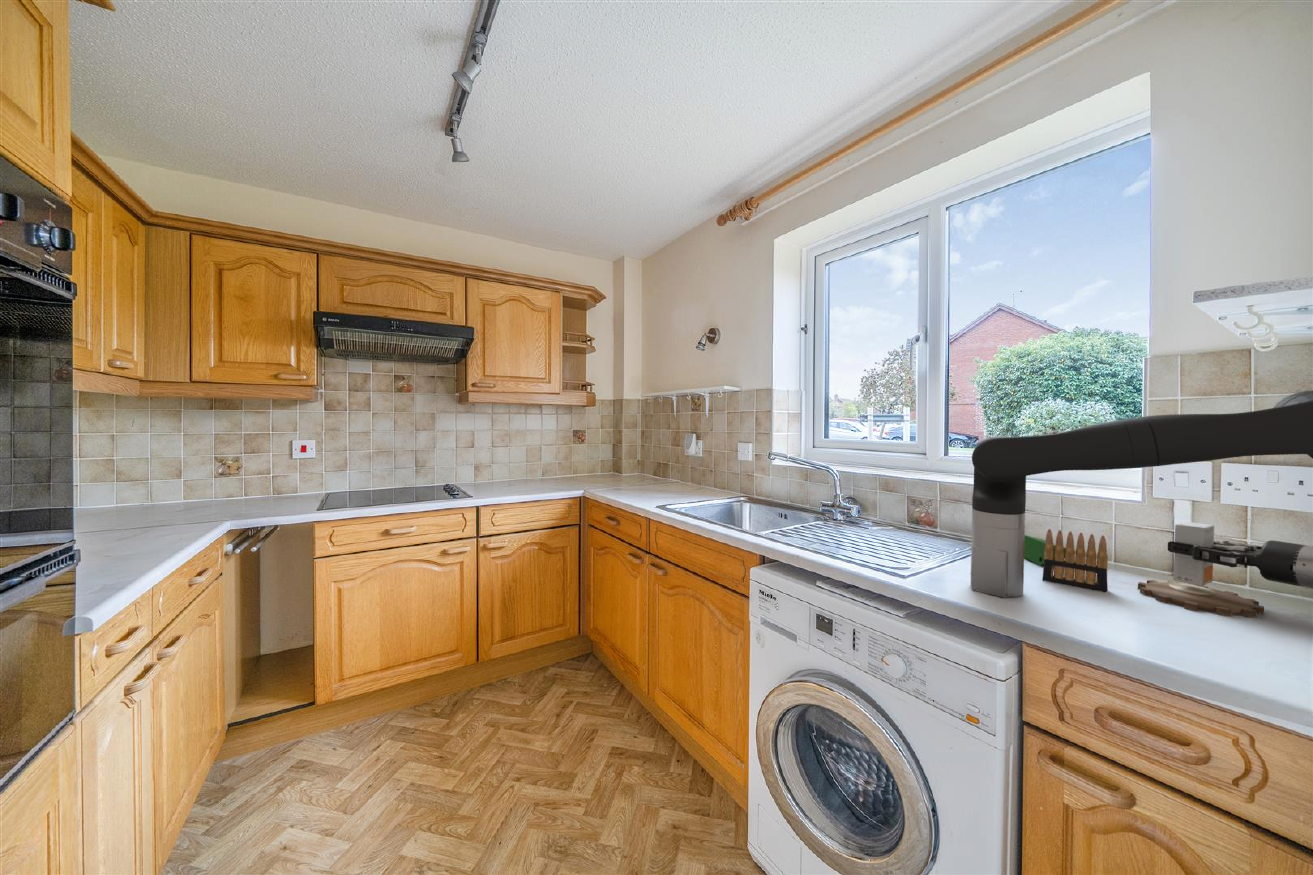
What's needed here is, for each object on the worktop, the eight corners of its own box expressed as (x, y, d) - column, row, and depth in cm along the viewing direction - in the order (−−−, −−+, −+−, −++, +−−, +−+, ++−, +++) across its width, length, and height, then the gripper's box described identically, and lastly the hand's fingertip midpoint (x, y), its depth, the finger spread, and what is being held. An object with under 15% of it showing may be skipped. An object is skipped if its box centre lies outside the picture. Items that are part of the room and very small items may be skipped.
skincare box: (1203, 587, 94) (1204, 527, 93) (1172, 581, 97) (1173, 524, 97) (1214, 582, 96) (1215, 524, 96) (1183, 576, 100) (1184, 521, 100)
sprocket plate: (1260, 624, 83) (1261, 617, 83) (1129, 596, 97) (1130, 589, 97) (1266, 603, 93) (1266, 596, 93) (1146, 580, 106) (1146, 574, 106)
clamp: (1059, 583, 117) (1079, 556, 113) (1033, 576, 118) (1053, 549, 114) (1035, 553, 127) (1054, 527, 123) (1012, 547, 128) (1029, 521, 124)
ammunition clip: (1107, 590, 100) (1109, 535, 100) (1107, 592, 99) (1109, 536, 98) (1043, 578, 108) (1044, 527, 107) (1042, 580, 106) (1043, 528, 106)
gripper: (1326, 542, 86) (1196, 524, 101) (1289, 549, 81) (1158, 529, 96) (1325, 582, 86) (1195, 558, 102) (1288, 592, 81) (1158, 565, 97)
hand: (1178, 544), depth 99 cm, fingers closed on skincare box, 6 cm apart
